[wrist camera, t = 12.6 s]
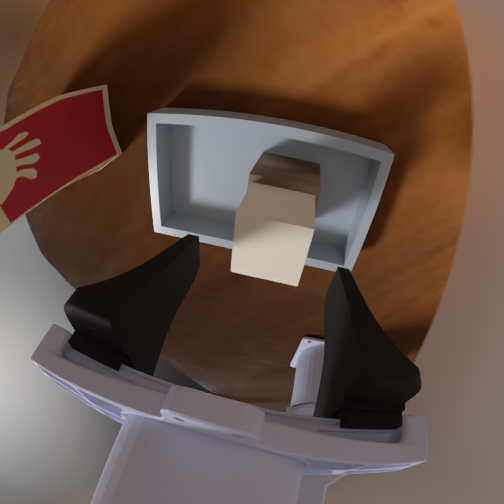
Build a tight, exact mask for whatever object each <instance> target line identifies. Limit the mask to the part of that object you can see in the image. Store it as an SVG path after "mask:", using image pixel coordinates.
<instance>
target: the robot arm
mask: <svg viewBox="0 0 504 504" xmlns="http://www.w3.org/2000/svg"><path fill="white" fill-rule="evenodd" d="M199 266H200V260H199V236H196V235H191V234H188V235H186V236H185V237H183V238H182V239H180V240H179V241H177V242H176V243H174V244H173V245H172V246H170V247H169V248H167V249H166V250H164V251H163V252H161V253H160V254H158V255H157V256H155V257H153V258H152V259H150V260H149V261H147V262H145V263H144V264H142V265H140V266H138V267H136V268H134V269H132V270H130V271H128V272H125V273H123V274H121V275H118V276H116V277H114V278H111V279H108V280H105V281H102V282H99V283H95V284H91V285H87V286H83V287H79V288H77V289H76V291H75V292H74V293H73V294H72V296H71V297H70V298H69V300H68V301H67V302H66V303H65V305H64V311H65V314H66V316H67V318H68V319H69V321H70V323H71V324H72V326H73V328H74V329H75V332H74V333H73V335H72V334H71V333H70V332H68V331H67V330H65V329H63V328H61V327H60V326H58V325H56V324H53V325H52V327H51V328H50V329H49V331H48V332H47V334H46V335H45V337H44V338H43V340H42V341H41V343H40V344H39V346H38V347H37V349H36V350H35V352H34V353H33V355H32V357H31V360H32V361H33V362H34V363H35V364H36V365H37V366H38V367H39V368H40V369H41V370H42V371H43V372H44V373H45V375H46V376H47V377H48V378H49V379H51V380H52V381H53V382H54V383H56V384H57V385H58V386H60V387H61V388H63V389H64V390H66V391H67V392H69V393H71V394H72V395H74V396H75V397H77V398H78V399H80V400H81V401H83V402H85V403H86V404H88V405H89V406H91V407H93V408H94V409H96V410H98V411H99V412H101V413H103V414H105V415H106V416H108V417H110V418H112V419H114V420H115V421H117V422H119V423H121V424H123V425H122V427H121V429H120V432H119V434H118V436H117V438H116V441H115V443H114V446H113V448H112V451H111V453H110V455H109V458H108V460H107V462H106V465H105V467H104V470H103V472H102V475H101V477H100V480H99V482H98V485H97V488H96V490H95V493H94V496H93V498H92V501H91V503H90V504H324V500H325V494H326V488H327V486H328V485H330V484H332V483H333V482H335V481H337V480H338V479H340V478H342V477H343V476H345V475H346V474H360V473H373V472H385V471H396V470H400V469H404V468H407V467H410V466H413V465H416V464H419V463H422V462H425V461H426V460H427V459H428V441H427V419H426V415H408V416H404V417H402V411H404V410H405V402H407V401H408V400H410V399H411V398H412V397H414V396H415V395H416V394H417V393H418V392H419V391H420V389H421V378H420V372H419V368H418V367H417V366H416V365H415V364H413V363H412V362H411V361H410V360H409V359H408V358H407V357H406V356H405V355H404V354H403V353H402V352H401V351H400V350H399V349H398V348H397V347H396V346H395V344H394V343H393V342H392V341H391V340H390V338H389V337H388V336H387V335H386V333H385V332H384V331H383V329H382V328H381V326H380V325H379V324H378V322H377V321H376V319H375V318H374V316H373V314H372V313H371V311H370V309H369V308H368V306H367V304H366V302H365V300H364V298H363V296H362V294H361V293H360V291H359V289H358V286H357V284H356V282H355V280H354V278H353V276H352V274H351V272H350V270H349V269H347V268H342V267H337V270H336V272H335V275H334V277H333V279H332V282H331V284H330V286H329V289H328V291H327V294H326V300H325V310H324V340H322V339H316V338H311V337H303V338H302V340H301V343H300V345H299V347H298V349H297V351H296V353H295V355H294V357H293V359H292V361H291V364H290V366H291V367H295V368H296V374H295V381H294V388H293V394H292V401H291V407H287V408H286V413H285V412H279V411H273V410H268V409H263V408H258V407H256V406H253V405H250V404H247V403H243V402H239V401H235V400H231V399H227V398H223V397H219V396H216V395H212V394H208V393H205V392H202V391H198V390H195V389H192V388H188V387H183V386H177V385H174V384H172V383H169V382H166V381H163V380H160V379H158V378H155V377H153V374H154V371H155V367H156V364H157V361H158V358H159V355H160V352H161V349H162V346H163V343H164V340H165V338H166V335H167V332H168V330H169V327H170V325H171V322H172V320H173V318H174V316H175V314H176V312H177V310H178V308H179V307H180V305H181V303H182V301H183V299H184V298H185V296H186V294H187V292H188V290H189V289H190V287H191V285H192V283H193V281H194V279H195V276H196V274H197V271H198V269H199Z"/></svg>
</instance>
